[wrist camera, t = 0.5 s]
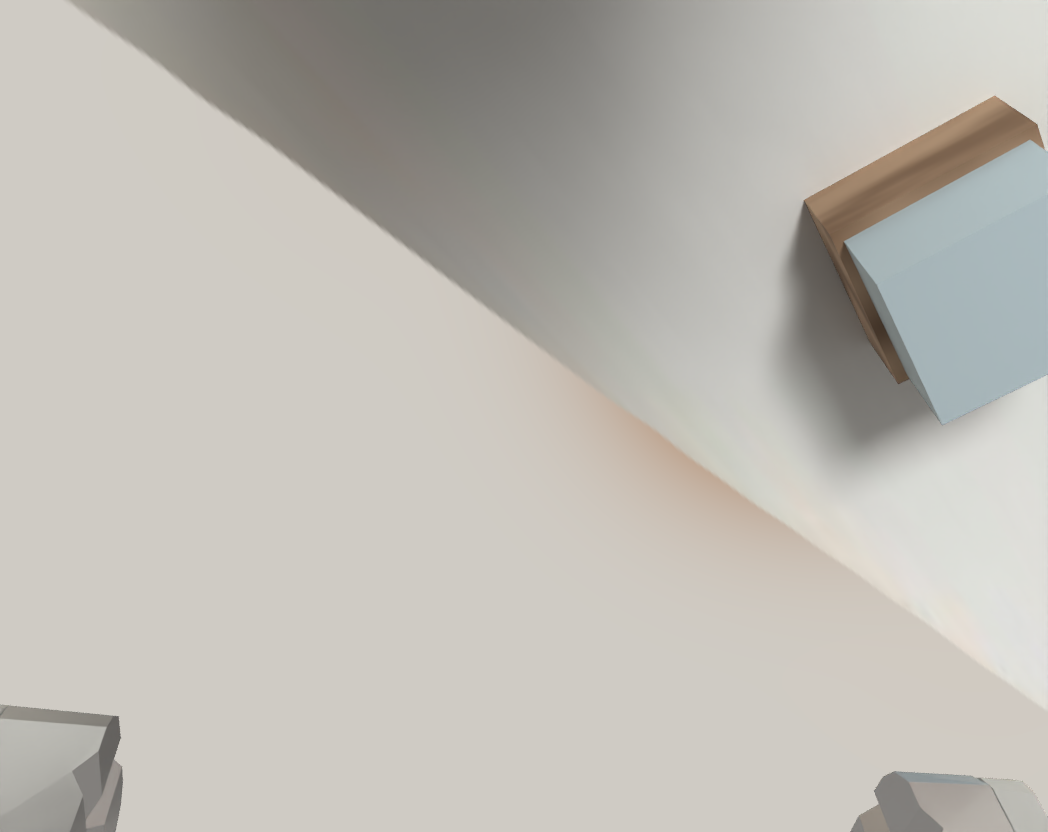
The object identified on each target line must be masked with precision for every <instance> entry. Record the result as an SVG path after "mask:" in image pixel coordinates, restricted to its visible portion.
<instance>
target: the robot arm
mask: <svg viewBox="0 0 1048 832" xmlns="http://www.w3.org/2000/svg"><path fill="white" fill-rule="evenodd" d="M120 738H121V737H120V726H119V717H118V716H109V715H100V714H90V713H80V712H79V713H78V712H69V711H59V710H49V709H39V708H28V707H17V706H9V705H0V832H115V831H116V826H117V821H118V816H119V811H120V806H121V797H122V785H123V777H122V766H121V765H120V764H118V763H117V762H116V761H115V760H114V757H115V754H116V751H117V748H118V744H119V741H120ZM874 792H875V795H876V797H877V800H878V802H879V805H877V806H875V807H873V808H871V809H870V810H868V811H866V812H865V813H863V814H861V815H859V817H858V819H857V820H856V822H855V824H854V826H853V828H852V830H851V832H1048V816H1047V815H1046V813H1045V811H1044V809H1043V807H1042V805H1041V804H1040V802H1039V800H1038V798H1037V796H1036V795H1035V793H1034V792H1033V790H1032V789H1030V787H1028V786H1027V785H1026V784H1025V783H1024V782H1023V781H1018V780H1009V779H993V778H975V777H973V776H966V775H948V774H929V773H913V772H896V771H895V772H892V773H890V774H888V775H886V776H884V777H883V778H882V779H881V781H880V782H879V784H878V786H877V787H876V789H875V790H874Z"/></svg>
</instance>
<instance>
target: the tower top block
mask: <svg viewBox="0 0 1048 832" xmlns="http://www.w3.org/2000/svg"><path fill="white" fill-rule="evenodd" d="M844 243H845V245H846V247H847V249H848V251H849V253H850V255H851V258H852V260H853V262H854V264H855V266H856V268H857V270H858V272H859V274H860V277H861V279H862V281H863V283H864V285H865V287H866V289H867V291H868V293H869V296H870V298H871V300H872V302H873V304H874V306H875V308H876V310H877V312H878V315H879V317H880V319H881V321H882V323H883V325H884V327H885V329H886V331H887V334H888V336H889V338H890V340H891V342H892V344H893V346H894V348H895V350H896V353H897V355H898V357H899V359H900V361H901V363H902V365H903V367H904V369H905V372H906V374H907V376H908V377H909V379H910V380H911V382H912V383H913V384H914V386H915V387H916V389H917V390H918V391H919V393H920V394H921V396H922V397H923V399H924V400H925V401H926V403H927V404H928V406H929V407H930V409H931V410H932V411H933V413H934V414H935V416H936V417H937V419H938V420H939V421H940V423H941V424H942V425H944V424H946V423H948V422H950V421H952V420H954V419H957V418H959V417H961V416H963V415H965V414H967V413H969V412H971V411H973V410H975V409H977V408H979V407H981V406H984V405H986V404H988V403H990V402H992V401H994V400H996V399H998V398H1000V397H1002V396H1004V395H1006V394H1008V393H1011V392H1013V391H1015V390H1017V389H1019V388H1021V387H1023V386H1025V385H1027V384H1029V383H1031V382H1033V381H1035V380H1038V379H1040V378H1042V377H1044V376H1046V375H1048V152H1047V151H1046V150H1044V149H1043V148H1041V147H1040V146H1039V145H1037V144H1036V143H1034V142H1033V141H1031V140H1028V141H1027V142H1025V143H1023V144H1021V145H1019V146H1017V147H1016V148H1014V149H1012V150H1010V151H1008V152H1006V153H1005V154H1003V155H1001V156H999V157H997V158H995V159H994V160H992V161H990V162H988V163H986V164H984V165H983V166H981V167H979V168H977V169H975V170H973V171H972V172H970V173H968V174H966V175H964V176H962V177H961V178H959V179H957V180H955V181H953V182H951V183H950V184H948V185H946V186H944V187H942V188H941V189H939V190H937V191H935V192H933V193H931V194H930V195H928V196H926V197H924V198H922V199H920V200H919V201H917V202H915V203H913V204H911V205H909V206H908V207H906V208H904V209H902V210H900V211H898V212H897V213H895V214H893V215H891V216H889V217H887V218H886V219H884V220H882V221H880V222H878V223H876V224H875V225H873V226H871V227H869V228H867V229H865V230H864V231H862V232H860V233H858V234H856V235H854V236H853V237H851V238H849V239H847V240H845V241H844Z"/></svg>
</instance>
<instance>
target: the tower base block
mask: <svg viewBox="0 0 1048 832" xmlns="http://www.w3.org/2000/svg"><path fill="white" fill-rule="evenodd" d="M1028 140H1031V141H1033V142H1034V143H1036V144H1037V145H1039V146H1040V147H1041V148H1043V149H1044V145H1043V142H1042V139H1041V135H1040V132H1039V129H1038V125H1037V124H1036V123H1035V122H1033V121H1032V120H1030V119H1029V118H1027V117H1026V116H1024V115H1023V114H1021V113H1020V112H1018V111H1017V110H1015V109H1014V108H1012V107H1011V106H1009V105H1008V104H1006V103H1005V102H1003V101H1002V100H1000V99H999V98H997V97H996V96H993V97H991V98H990V99H988V100H986V101H984V102H982V103H981V104H979V105H977V106H975V107H973V108H971V109H970V110H968V111H966V112H964V113H962V114H960V115H959V116H957V117H955V118H953V119H951V120H949V121H948V122H946V123H944V124H942V125H940V126H939V127H937V128H935V129H933V130H931V131H929V132H928V133H926V134H924V135H922V136H920V137H918V138H917V139H915V140H913V141H911V142H909V143H907V144H906V145H904V146H902V147H900V148H898V149H896V150H895V151H893V152H891V153H889V154H887V155H886V156H884V157H882V158H880V159H878V160H876V161H875V162H873V163H871V164H869V165H867V166H865V167H864V168H862V169H860V170H858V171H856V172H854V173H853V174H851V175H849V176H847V177H845V178H844V179H842V180H840V181H838V182H836V183H834V184H833V185H831V186H829V187H827V188H825V189H823V190H822V191H820V192H818V193H816V194H814V195H812V196H811V197H809V198H807V199H805V200H804V201H805V203H806V206H807V208H808V210H809V212H810V214H811V216H812V218H813V221H814V223H815V225H816V227H817V229H818V231H819V234H820V236H821V238H822V240H823V242H824V244H825V246H826V249H827V251H828V253H829V255H830V257H831V259H832V262H833V264H834V266H835V268H836V270H837V272H838V274H839V277H840V279H841V281H842V283H843V285H844V287H845V289H846V292H847V294H848V296H849V298H850V300H851V302H852V305H853V307H854V309H855V311H856V313H857V315H858V317H859V320H860V322H861V324H862V326H863V328H864V330H865V333H866V335H867V337H868V339H869V341H870V343H871V345H872V346H873V348H874V349H875V351H876V352H877V354H878V355H879V357H880V358H881V359H882V361H883V362H884V364H885V365H886V367H887V368H888V370H889V371H890V373H891V374H892V376H893V377H894V379H895V380H896V381H897V383H898V384H900V383H902V382H904V381H906V380H908V379H909V377H908V376H907V374H906V372H905V369H904V367H903V365H902V363H901V361H900V359H899V357H898V355H897V353H896V350H895V348H894V346H893V344H892V342H891V340H890V338H889V336H888V334H887V331H886V329H885V327H884V325H883V323H882V321H881V319H880V317H879V315H878V312H877V310H876V308H875V306H874V304H873V302H872V300H871V298H870V296H869V293H868V291H867V289H866V287H865V285H864V283H863V281H862V279H861V277H860V274H859V272H858V270H857V268H856V266H855V264H854V262H853V260H852V258H851V255H850V253H849V251H848V249H847V247H846V245H845V243H844V241H845V240H847V239H849V238H851V237H853V236H854V235H856V234H858V233H860V232H862V231H864V230H865V229H867V228H869V227H871V226H873V225H875V224H876V223H878V222H880V221H882V220H884V219H886V218H887V217H889V216H891V215H893V214H895V213H897V212H898V211H900V210H902V209H904V208H906V207H908V206H909V205H911V204H913V203H915V202H917V201H919V200H920V199H922V198H924V197H926V196H928V195H930V194H931V193H933V192H935V191H937V190H939V189H941V188H942V187H944V186H946V185H948V184H950V183H951V182H953V181H955V180H957V179H959V178H961V177H962V176H964V175H966V174H968V173H970V172H972V171H973V170H975V169H977V168H979V167H981V166H983V165H984V164H986V163H988V162H990V161H992V160H994V159H995V158H997V157H999V156H1001V155H1003V154H1005V153H1006V152H1008V151H1010V150H1012V149H1014V148H1016V147H1017V146H1019V145H1021V144H1023V143H1025V142H1027V141H1028ZM1044 150H1045V149H1044Z"/></svg>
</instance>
